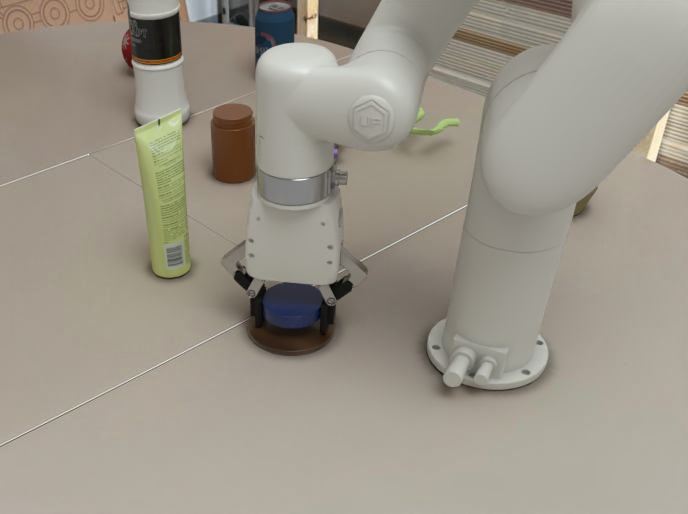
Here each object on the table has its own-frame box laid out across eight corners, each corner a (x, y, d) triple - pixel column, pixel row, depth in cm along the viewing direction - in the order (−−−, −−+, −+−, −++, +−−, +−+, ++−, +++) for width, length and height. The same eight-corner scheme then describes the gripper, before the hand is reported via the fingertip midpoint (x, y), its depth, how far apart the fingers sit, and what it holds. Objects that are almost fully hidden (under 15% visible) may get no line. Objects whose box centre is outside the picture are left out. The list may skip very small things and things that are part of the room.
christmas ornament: (177, 66, 155) (173, 9, 148) (157, 83, 150) (152, 25, 143) (137, 61, 158) (131, 5, 151) (116, 78, 152) (109, 21, 146)
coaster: (312, 365, 90) (313, 361, 89) (232, 340, 93) (232, 336, 93) (348, 316, 96) (348, 311, 95) (271, 295, 100) (271, 290, 99)
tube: (153, 256, 107) (137, 108, 94) (192, 254, 107) (181, 106, 94) (150, 280, 103) (133, 129, 90) (191, 279, 103) (179, 127, 90)
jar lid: (289, 286, 96) (289, 274, 95) (336, 307, 93) (336, 296, 92) (249, 312, 93) (249, 301, 92) (296, 336, 89) (296, 324, 88)
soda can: (247, 77, 149) (246, 6, 141) (273, 66, 153) (274, -4, 144) (274, 86, 146) (275, 14, 137) (301, 75, 149) (303, 4, 141)
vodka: (188, 130, 134) (174, -79, 114) (132, 132, 135) (108, -76, 114) (192, 107, 141) (179, -95, 120) (138, 109, 142) (116, -92, 121)
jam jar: (243, 186, 120) (241, 123, 113) (205, 178, 122) (201, 116, 116) (263, 168, 124) (262, 106, 117) (225, 160, 126) (223, 99, 120)
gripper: (386, 167, 83) (372, 312, 95) (219, 157, 86) (226, 297, 99) (378, 204, 77) (364, 352, 90) (201, 191, 81) (211, 335, 93)
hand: (292, 322), depth 94 cm, fingers closed on jar lid, 6 cm apart
